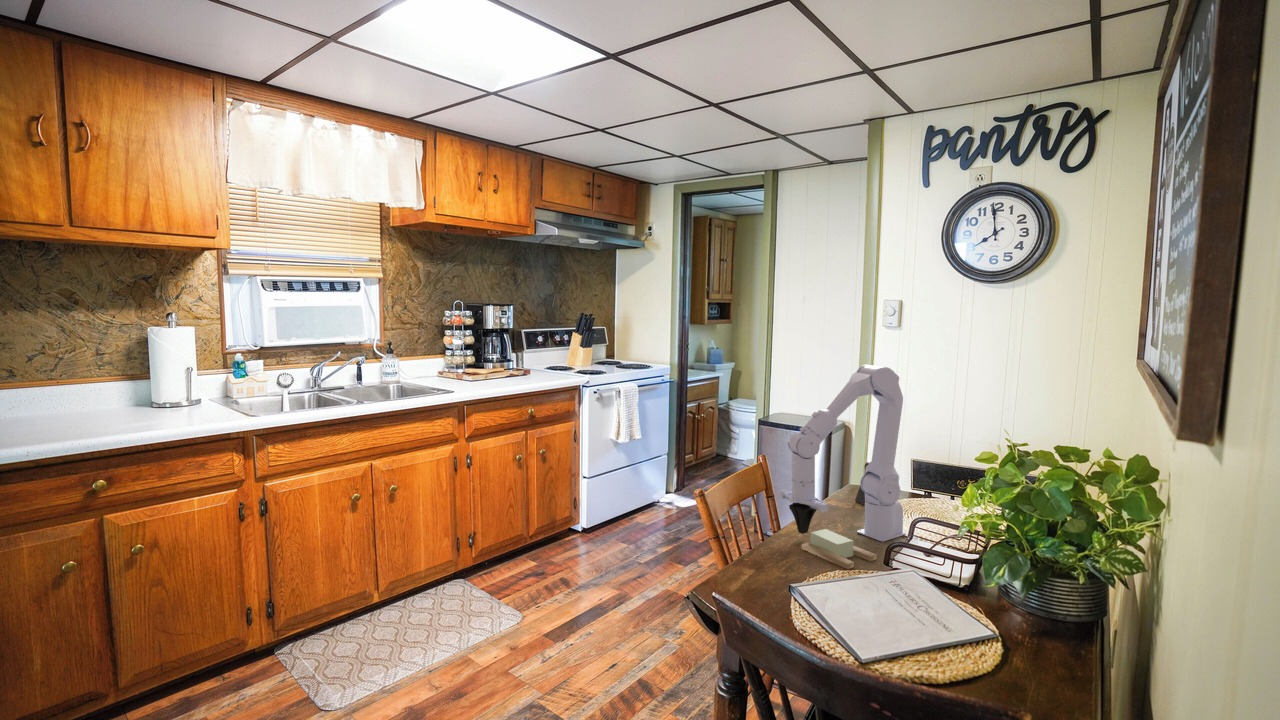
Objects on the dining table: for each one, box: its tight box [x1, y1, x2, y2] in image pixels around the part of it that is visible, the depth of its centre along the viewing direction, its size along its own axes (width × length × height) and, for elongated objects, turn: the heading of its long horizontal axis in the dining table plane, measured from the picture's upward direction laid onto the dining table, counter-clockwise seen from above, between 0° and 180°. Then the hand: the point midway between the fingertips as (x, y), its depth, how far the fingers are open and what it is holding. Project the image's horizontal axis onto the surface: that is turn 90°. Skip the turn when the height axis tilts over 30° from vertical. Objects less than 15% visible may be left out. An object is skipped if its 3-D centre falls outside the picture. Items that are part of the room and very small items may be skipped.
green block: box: [810, 528, 854, 559], centre depth 145 cm, size 5×9×4 cm, turn 27°
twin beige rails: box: [801, 542, 877, 570], centre depth 143 cm, size 10×14×1 cm
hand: (803, 532), depth 152 cm, fingers closed
